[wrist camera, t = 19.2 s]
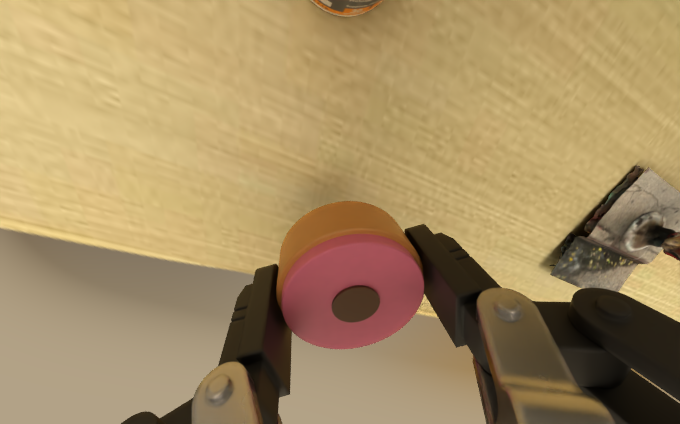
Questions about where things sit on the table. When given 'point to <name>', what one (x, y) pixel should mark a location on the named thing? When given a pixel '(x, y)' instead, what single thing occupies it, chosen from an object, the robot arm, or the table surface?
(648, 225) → the statue
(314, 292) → the donut
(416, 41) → the table surface
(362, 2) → the pill bottle
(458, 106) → the table surface
